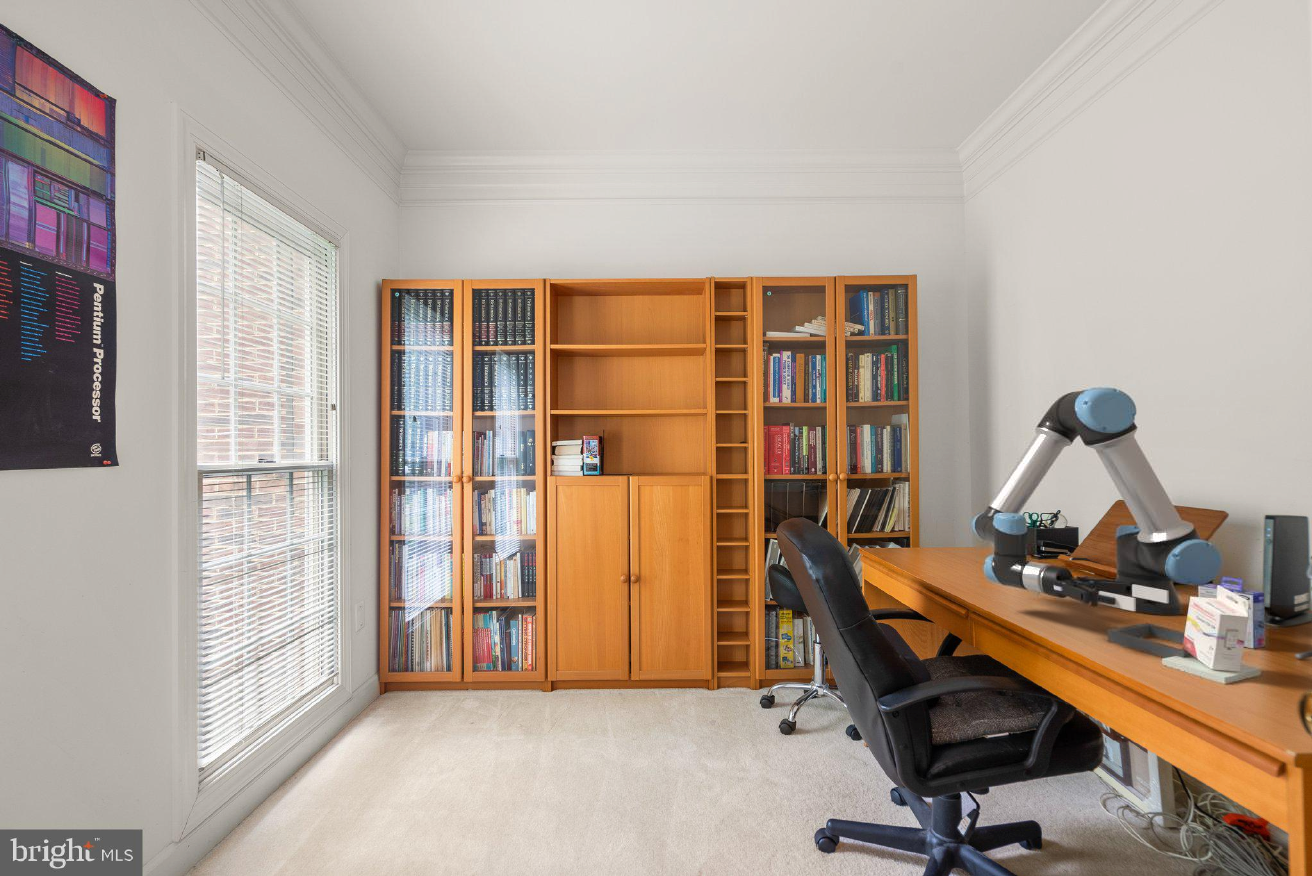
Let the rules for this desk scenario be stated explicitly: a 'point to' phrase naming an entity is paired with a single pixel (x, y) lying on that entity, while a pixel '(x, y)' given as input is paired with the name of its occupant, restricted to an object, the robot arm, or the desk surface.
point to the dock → (1132, 639)
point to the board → (1202, 670)
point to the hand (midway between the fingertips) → (1151, 600)
